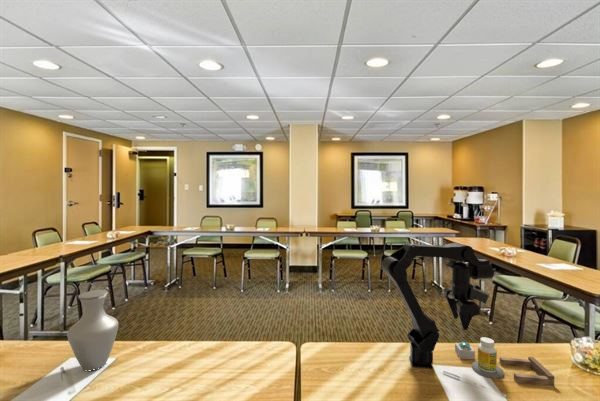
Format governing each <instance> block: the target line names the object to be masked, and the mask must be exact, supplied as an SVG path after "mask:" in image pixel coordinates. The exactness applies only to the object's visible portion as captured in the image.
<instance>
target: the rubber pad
mask: <svg viewBox="0 0 600 401" xmlns="http://www.w3.org/2000/svg"><path fill="white" fill-rule="evenodd" d="M471 369H472V370H473V371H474V372H475V373H476V374H478V375H479V376H482V377H485V378H488V379H494V380H495V379H496V380H497V379H499V380H500V379H502V378H503V377H505V372H504V370H503V369H502V368H501V367H499V366H498V365H497V366H496V371H495V372H493V373H490V372H485V371H483V370H481V369H480V368H479V367H478V360H476V361H473V362H472V363H471Z"/></svg>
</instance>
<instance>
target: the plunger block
mask: <svg viewBox="0 0 600 401" xmlns="http://www.w3.org/2000/svg"><path fill="white" fill-rule="evenodd" d="M454 351H455V353H456V355H457V357H458V358H459V359H466V360H467V359H468V360H469V359H470V360H476V350H475V349H474V347H473V346H472V345H471V344H470V347H469V349H461V346H460V342H459V343H458V342H455V344H454Z"/></svg>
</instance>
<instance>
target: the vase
mask: <svg viewBox="0 0 600 401" xmlns="http://www.w3.org/2000/svg"><path fill="white" fill-rule="evenodd" d="M108 293H109V291H107V290H106V289H95V290H88V291H85V292H82V293H80V294H79V295H77V298H78V299H79V301H80V303H81V305H82V308H83V311H82V315H81V317H80V318H79V320H77V321H76V322H75V323H74V324H72V325H71V327H70V328H69V329H68V330H67V336H66V338H67V341H68V344H69V345H70V347H71V350H72V352H73V354H74V356H75V359H76V361H77V362H78V365H79V366H80V367H81V368H82V370H83V369H84V370H93V369H98V368H100V367H102V366H104V365H105V366H106V365H107V363H106V362H108V360H109V357H110V354H111V352H112V350H113V347H114V344H115V341H116V337H117V333H118V330H119V324H120V323H119V321H118V319H117V318H115V317H114V316H112V315H109V314H107V313H106V311H105V309H104V302H105V300H106V297H107V295H108ZM105 366H104V367H105ZM102 368H103V367H102ZM100 369H101V368H100ZM84 370H83V371H84ZM98 370H99V369H98Z"/></svg>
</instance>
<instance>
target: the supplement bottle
mask: <svg viewBox="0 0 600 401" xmlns="http://www.w3.org/2000/svg"><path fill="white" fill-rule="evenodd" d="M497 351H498V350H497V348H496V346H495V340H493V339H492V338H490V337H486V336H485V337H483V336H482V337H480V341H479V344H478V345H477V361H478V367H479V368H480V369H481V370H483V371H485V372H490V373H493V372H495V371H496V366H498V365H497V362H498V361H497V358H498V357H497V356H498V355H497V354H498V353H497Z"/></svg>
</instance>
